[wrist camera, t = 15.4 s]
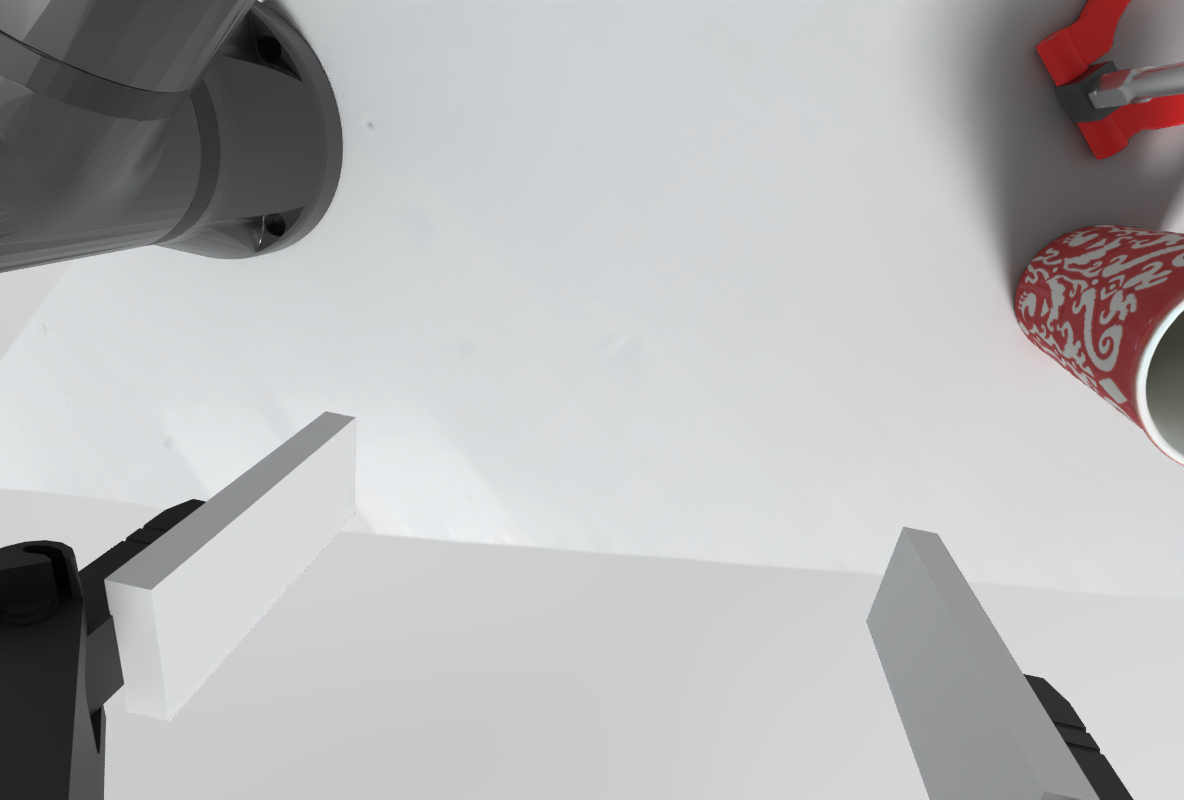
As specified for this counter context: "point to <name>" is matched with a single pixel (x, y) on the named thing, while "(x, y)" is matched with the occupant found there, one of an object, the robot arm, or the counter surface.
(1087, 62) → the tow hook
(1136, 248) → the mug
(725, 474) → the counter surface
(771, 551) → the counter surface
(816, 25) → the counter surface
